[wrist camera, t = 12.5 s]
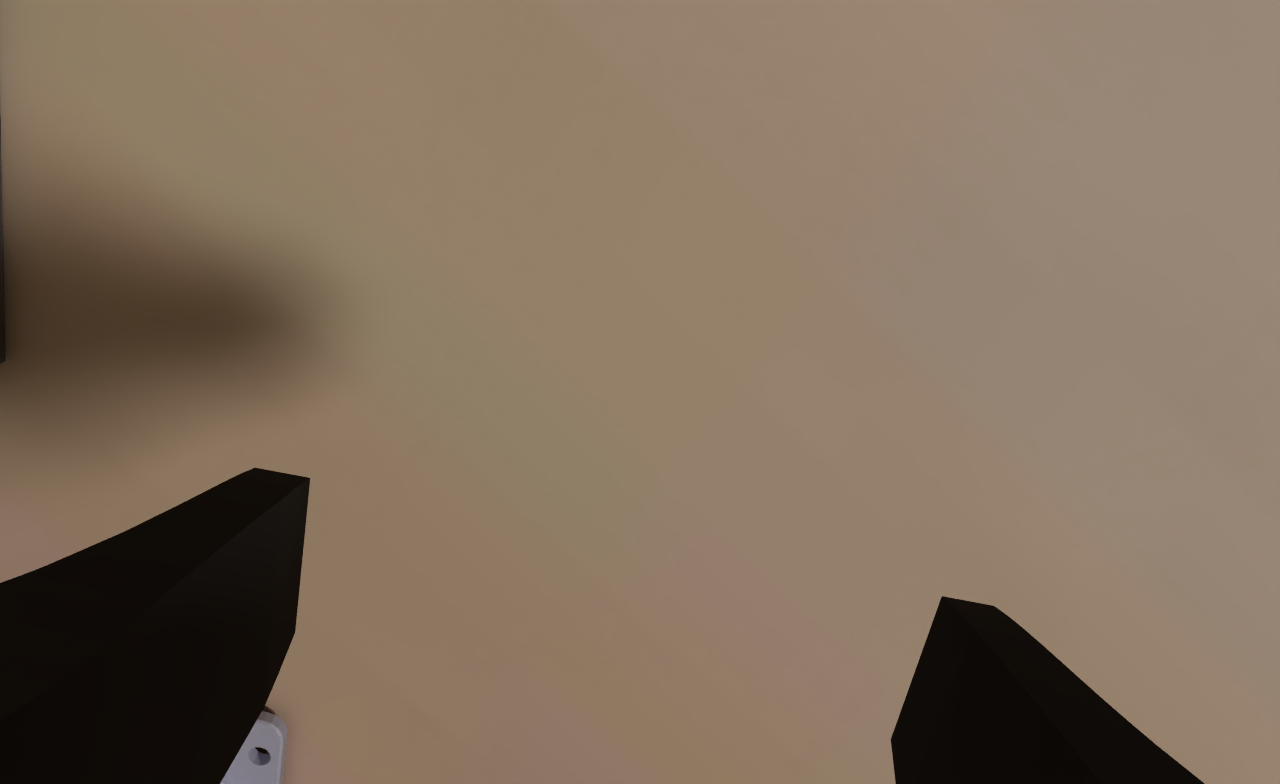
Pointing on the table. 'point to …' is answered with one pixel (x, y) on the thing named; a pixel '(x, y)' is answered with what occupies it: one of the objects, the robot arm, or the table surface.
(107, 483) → the table surface
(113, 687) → the robot arm
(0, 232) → the shelf
